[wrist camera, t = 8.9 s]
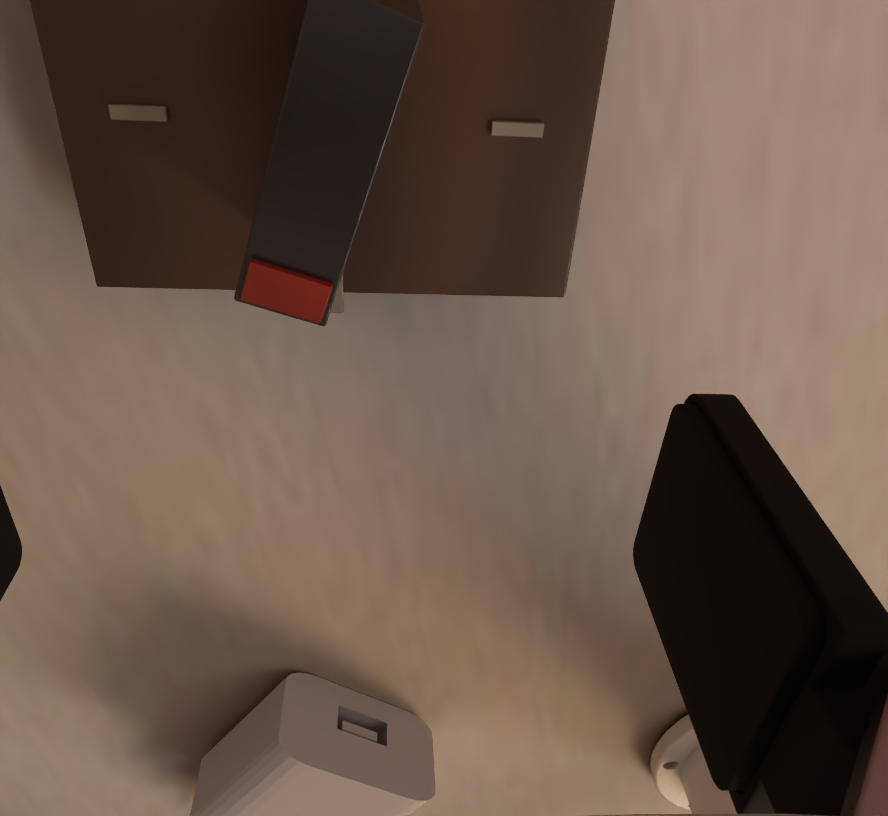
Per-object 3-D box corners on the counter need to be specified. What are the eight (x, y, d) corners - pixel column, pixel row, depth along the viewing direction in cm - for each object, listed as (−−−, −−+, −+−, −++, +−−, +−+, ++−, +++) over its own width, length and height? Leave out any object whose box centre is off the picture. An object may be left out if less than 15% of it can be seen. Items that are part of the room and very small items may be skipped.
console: (604, -123, 19) (638, -124, 16) (545, 274, 26) (563, 317, 23) (42, -164, 18) (-16, -173, 15) (129, 263, 24) (99, 308, 22)
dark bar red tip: (328, -44, 17) (313, -24, 13) (417, -6, 18) (426, 24, 14) (260, 227, 21) (231, 305, 17) (335, 252, 21) (324, 332, 17)
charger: (153, 795, 43) (288, 664, 37) (288, 832, 47) (432, 720, 41) (131, 883, 40) (277, 754, 33) (280, 917, 43) (437, 807, 37)
